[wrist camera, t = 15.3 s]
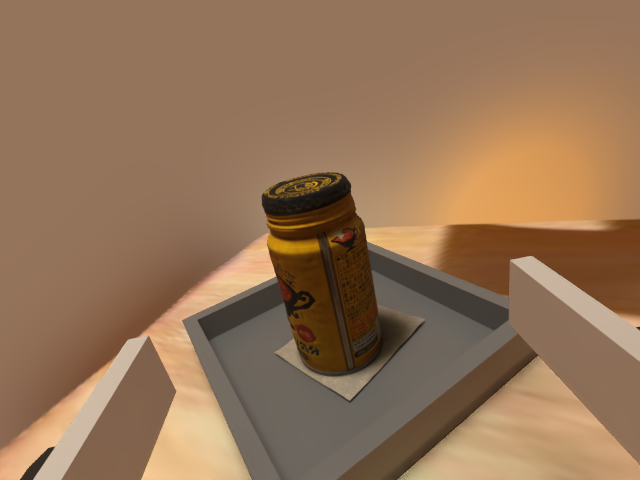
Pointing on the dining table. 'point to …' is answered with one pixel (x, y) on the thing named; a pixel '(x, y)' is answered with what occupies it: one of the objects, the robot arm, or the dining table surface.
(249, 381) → the tray
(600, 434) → the dining table surface
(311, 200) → the condiment
